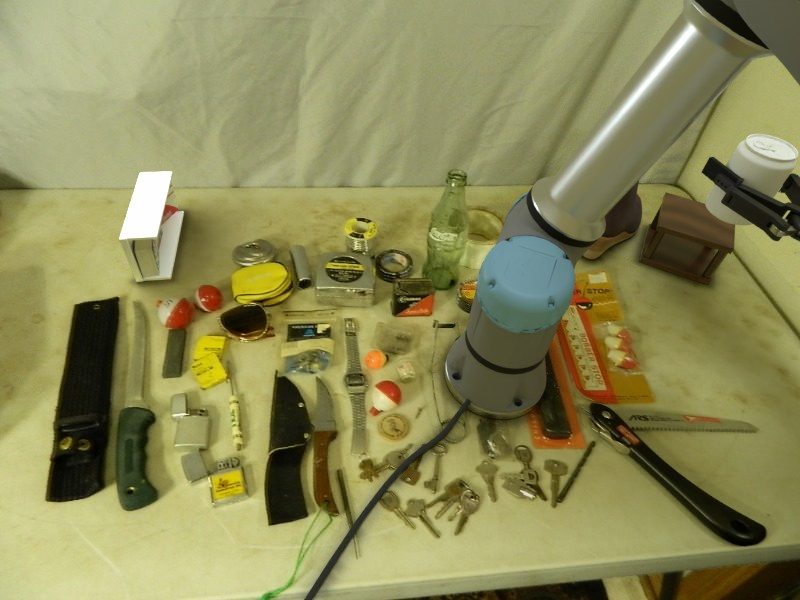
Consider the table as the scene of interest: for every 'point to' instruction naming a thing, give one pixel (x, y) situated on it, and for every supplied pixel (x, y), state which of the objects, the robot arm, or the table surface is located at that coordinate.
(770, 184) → the beverage can
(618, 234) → the boot
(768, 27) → the robot arm
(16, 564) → the table surface
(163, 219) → the cigarette display
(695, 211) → the rack
